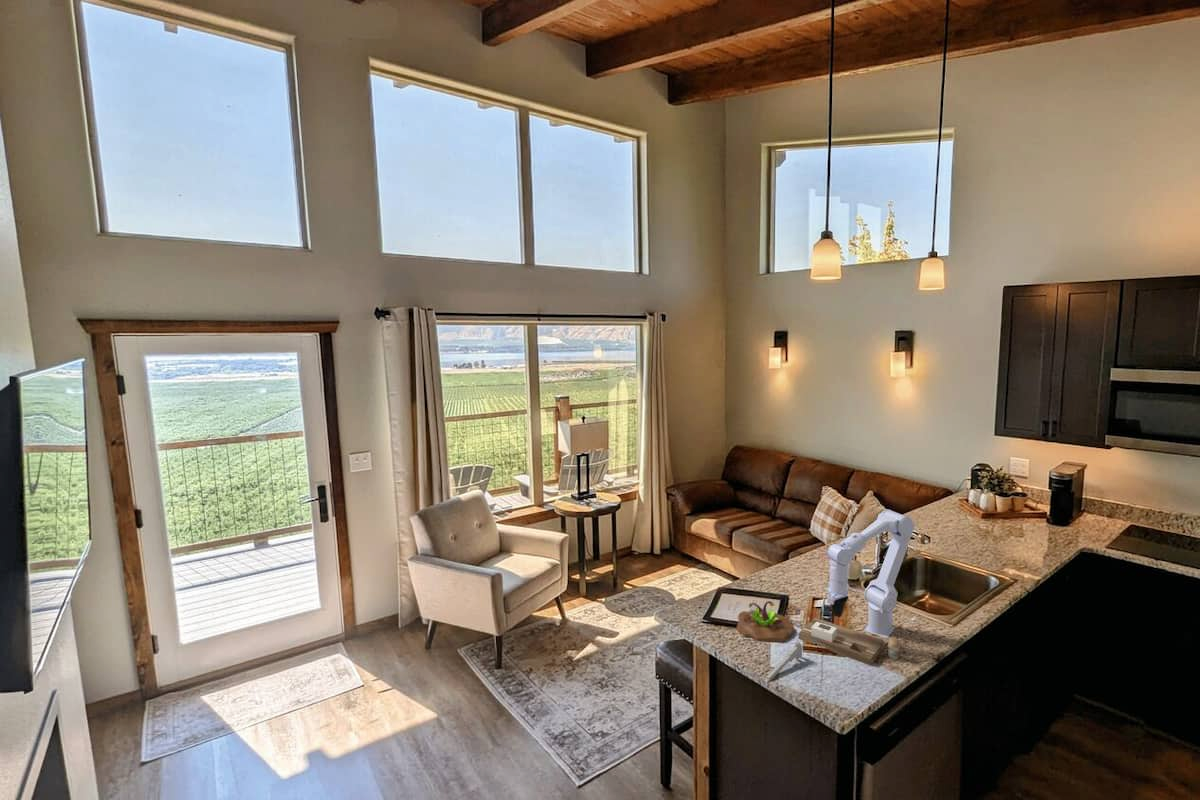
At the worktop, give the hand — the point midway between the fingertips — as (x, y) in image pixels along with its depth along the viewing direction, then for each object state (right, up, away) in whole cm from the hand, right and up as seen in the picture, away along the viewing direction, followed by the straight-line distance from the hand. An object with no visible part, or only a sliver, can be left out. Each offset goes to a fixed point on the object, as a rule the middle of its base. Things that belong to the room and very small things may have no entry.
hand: (837, 615), depth 199 cm
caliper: (-25, -12, -17) cm, 33 cm away
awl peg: (+14, -10, -11) cm, 20 cm away
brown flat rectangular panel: (0, -9, -2) cm, 9 cm away
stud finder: (-6, -6, -2) cm, 9 cm away
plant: (-23, -9, +8) cm, 26 cm away
